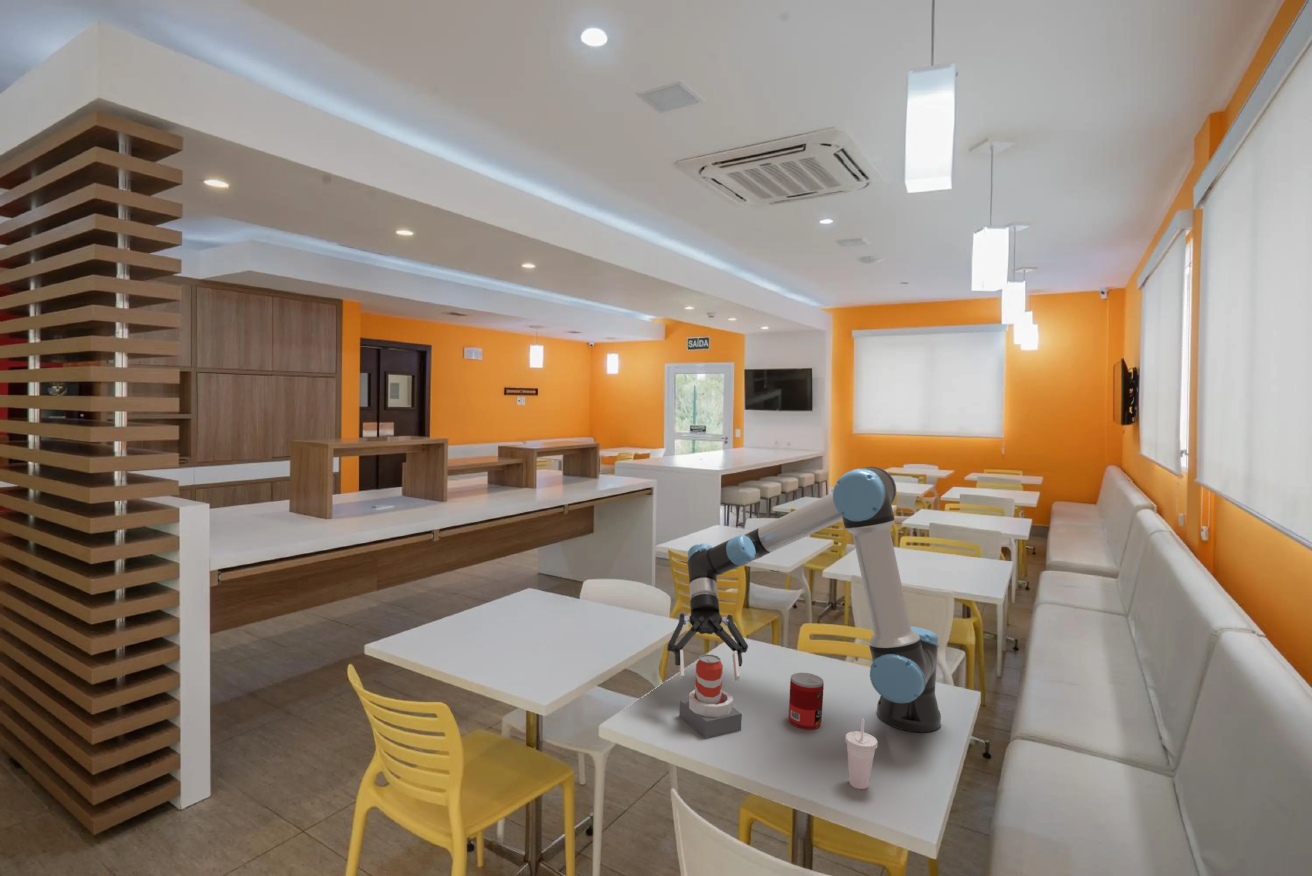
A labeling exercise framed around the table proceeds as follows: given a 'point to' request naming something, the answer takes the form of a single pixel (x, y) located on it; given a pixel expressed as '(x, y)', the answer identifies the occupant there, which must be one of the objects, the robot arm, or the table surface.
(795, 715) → the canned food
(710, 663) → the beverage can
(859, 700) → the table surface
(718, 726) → the mount
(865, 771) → the smoothie
